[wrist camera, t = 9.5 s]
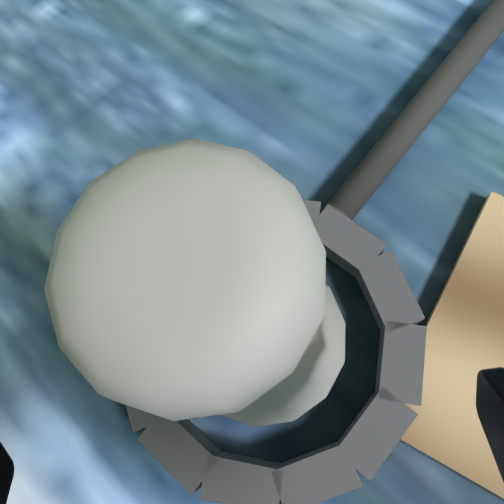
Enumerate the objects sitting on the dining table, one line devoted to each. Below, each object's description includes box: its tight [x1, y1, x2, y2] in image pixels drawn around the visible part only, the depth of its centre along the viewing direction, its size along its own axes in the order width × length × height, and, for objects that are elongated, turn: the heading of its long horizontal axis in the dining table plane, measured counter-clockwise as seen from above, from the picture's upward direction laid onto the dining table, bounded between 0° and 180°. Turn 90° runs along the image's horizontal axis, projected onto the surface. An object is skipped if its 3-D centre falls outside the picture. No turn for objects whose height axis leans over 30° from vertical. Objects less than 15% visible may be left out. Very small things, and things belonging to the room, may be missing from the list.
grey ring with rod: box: [126, 0, 504, 504], centre depth 19 cm, size 25×11×2 cm, turn 140°
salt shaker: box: [44, 138, 345, 427], centre depth 13 cm, size 6×6×13 cm
